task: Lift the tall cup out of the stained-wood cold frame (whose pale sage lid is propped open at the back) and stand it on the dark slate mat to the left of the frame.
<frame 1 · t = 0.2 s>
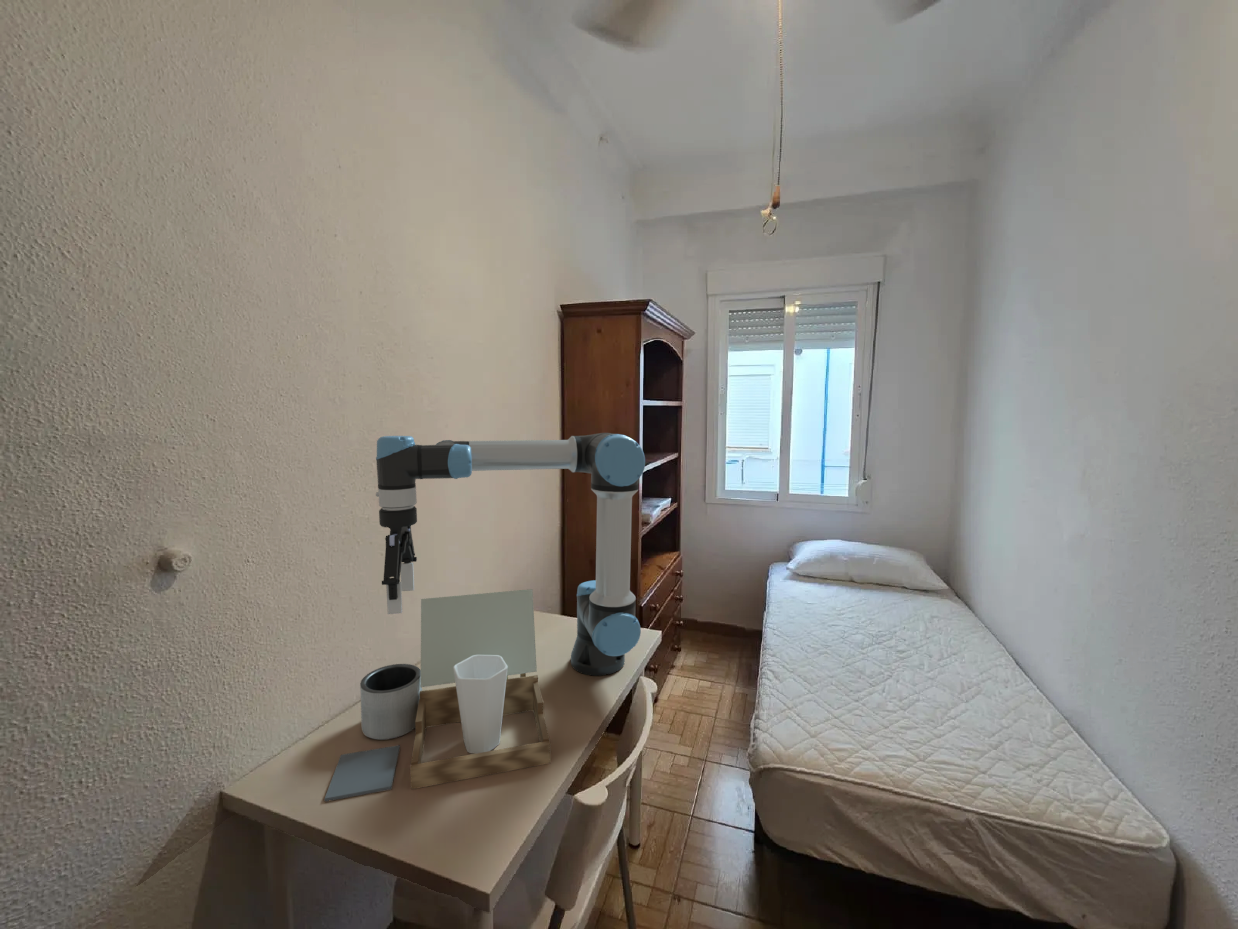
hand: (401, 601, 112), 28 cm above the table, fingers open, 13 cm apart
decorative object: (489, 698, 123), on the table
cold frame: (482, 743, 107), on the table
cup: (482, 744, 107), resting in cold frame
lid: (479, 635, 118), point 18 cm above the table, hinge at 112.5°
planter: (393, 725, 113), on the table
mat: (365, 772, 97), on the table
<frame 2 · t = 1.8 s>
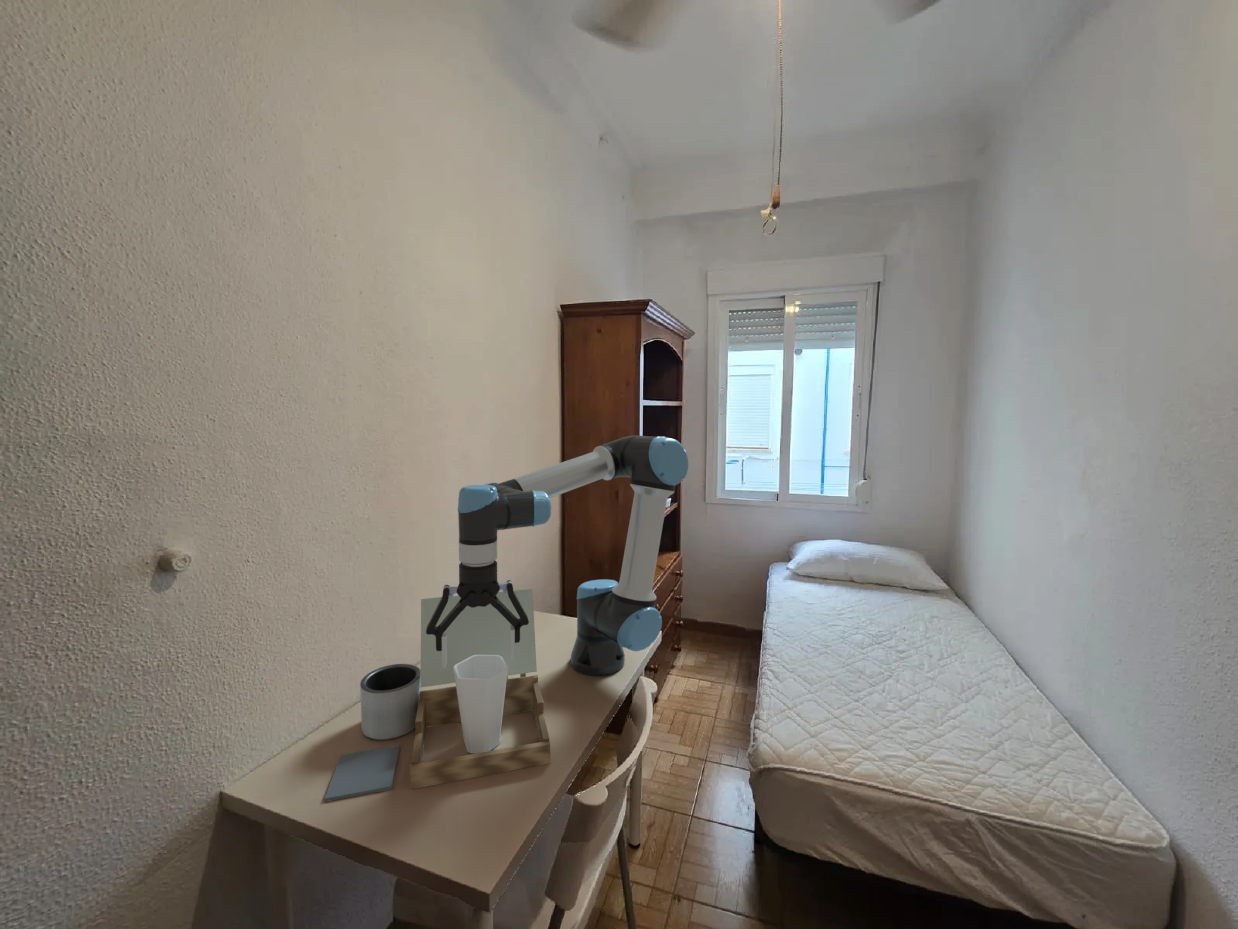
hand: (479, 661, 104), 18 cm above the table, fingers open, 13 cm apart
nothing on the table moved.
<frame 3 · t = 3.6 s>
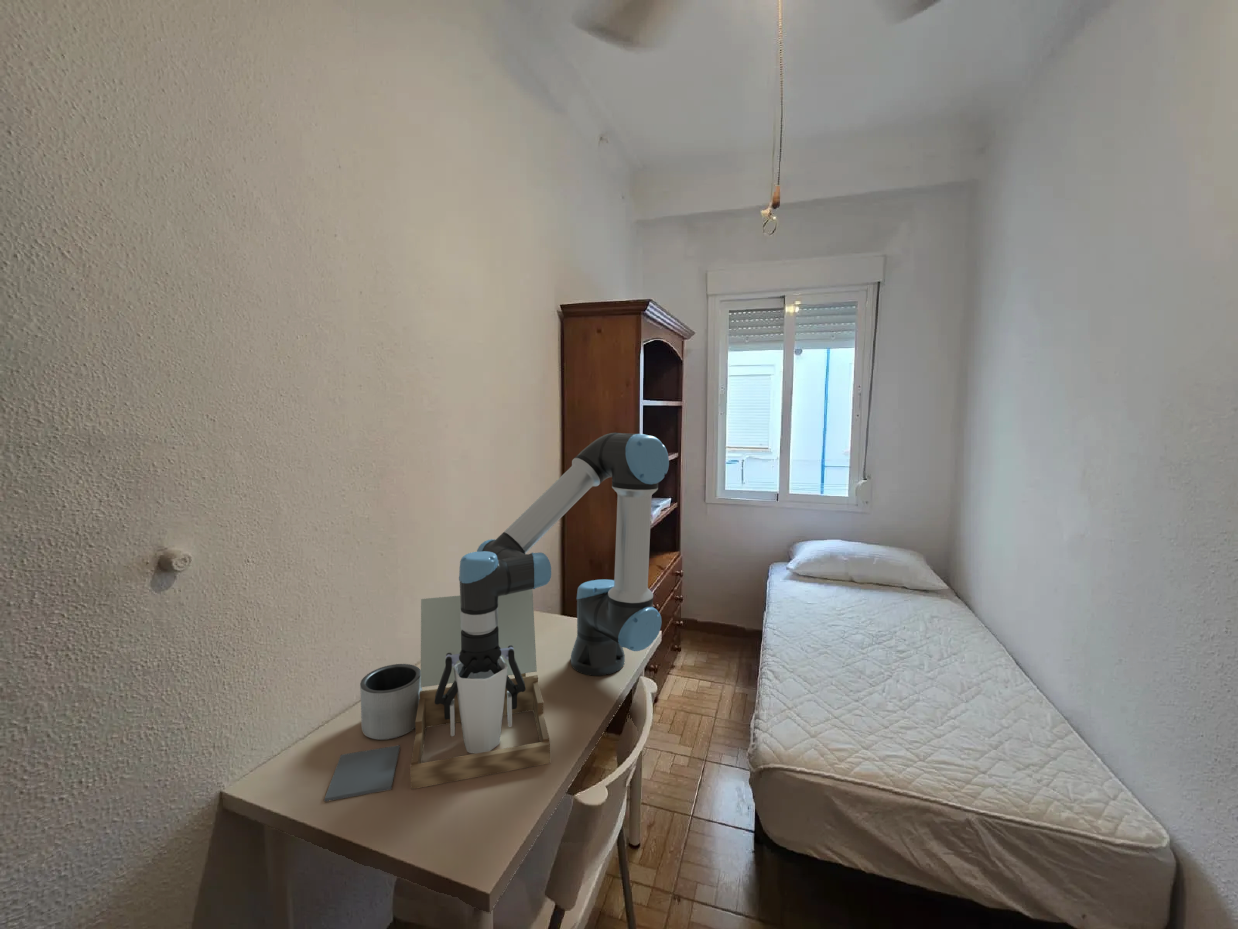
hand: (481, 727, 106), 4 cm above the table, fingers closed on cup, 11 cm apart
cup: (482, 744, 107), resting in cold frame, touching gripper
everything else where it was.
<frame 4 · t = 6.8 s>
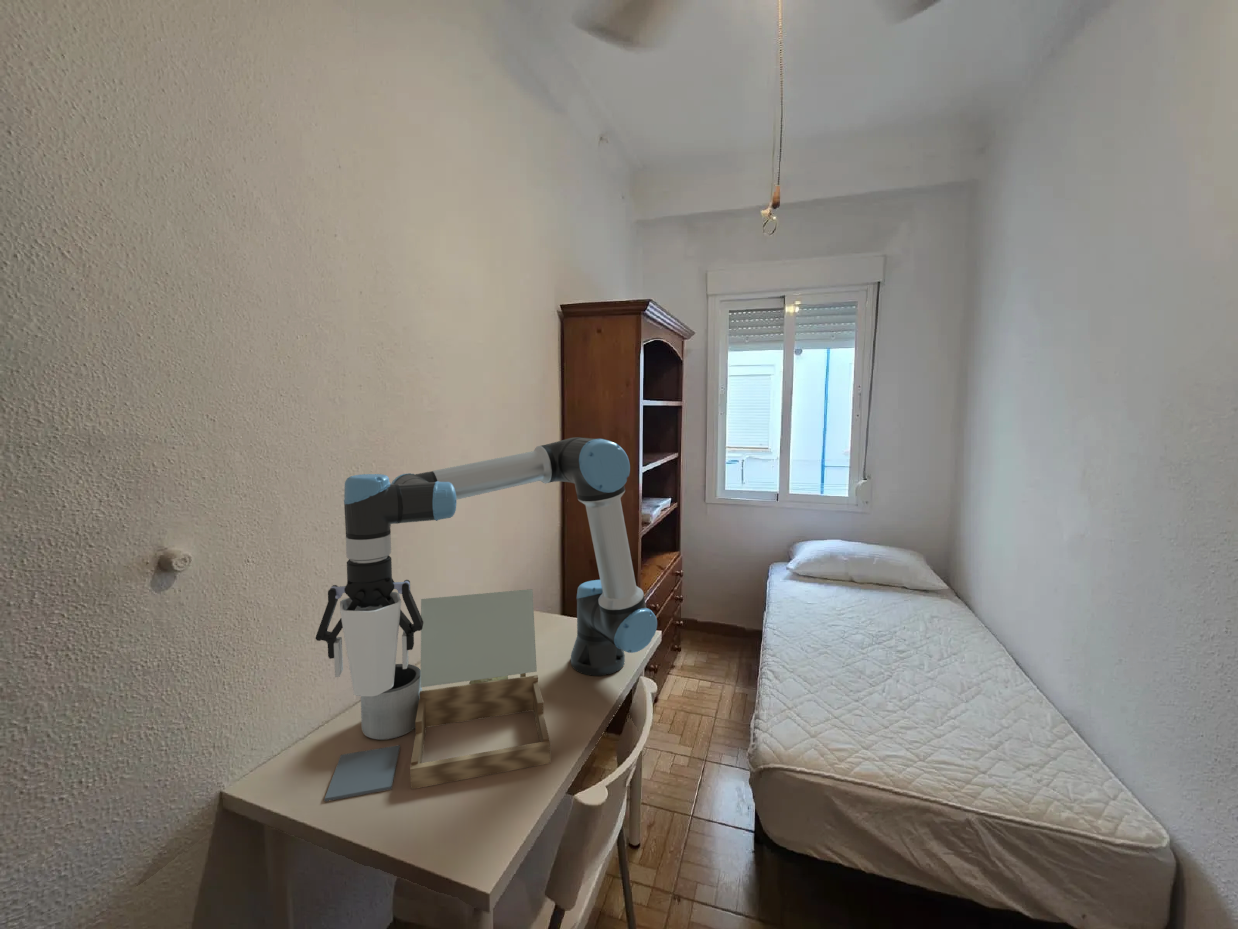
hand: (372, 669, 96), 21 cm above the table, fingers closed on cup, 11 cm apart
cup: (373, 687, 96), point 17 cm above the table, touching gripper
everything else where it was.
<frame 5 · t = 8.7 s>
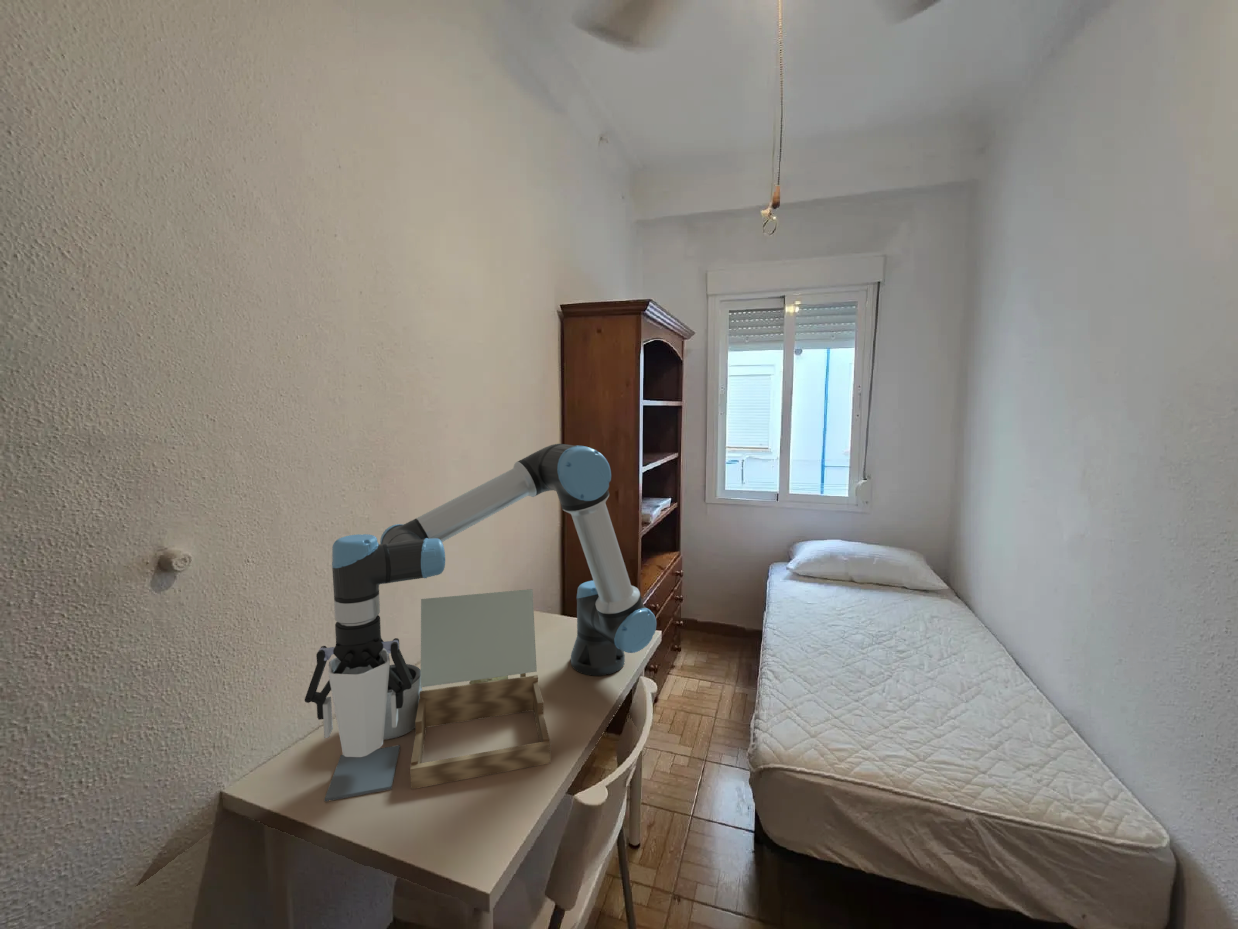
hand: (362, 728, 96), 9 cm above the table, fingers closed on cup, 11 cm apart
cup: (363, 746, 97), point 6 cm above the table, touching gripper
everything else where it was.
when the fingers open (5 cm above the table, at t = 10.0 s): cup drops 1 cm, resting on mat.
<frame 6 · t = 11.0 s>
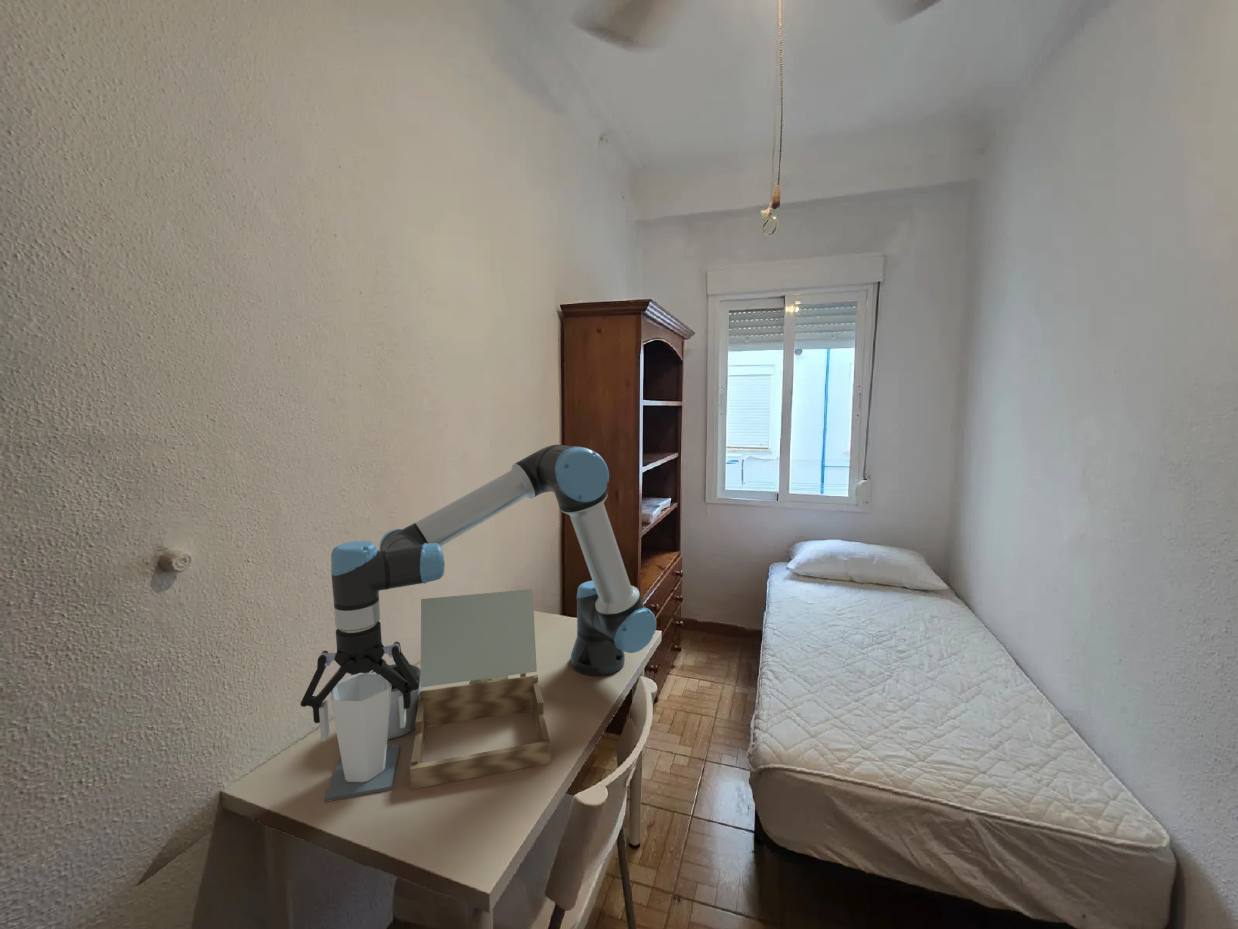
hand: (365, 730, 97), 9 cm above the table, fingers open, 13 cm apart
cup: (365, 770, 97), resting on mat
everything else where it was.
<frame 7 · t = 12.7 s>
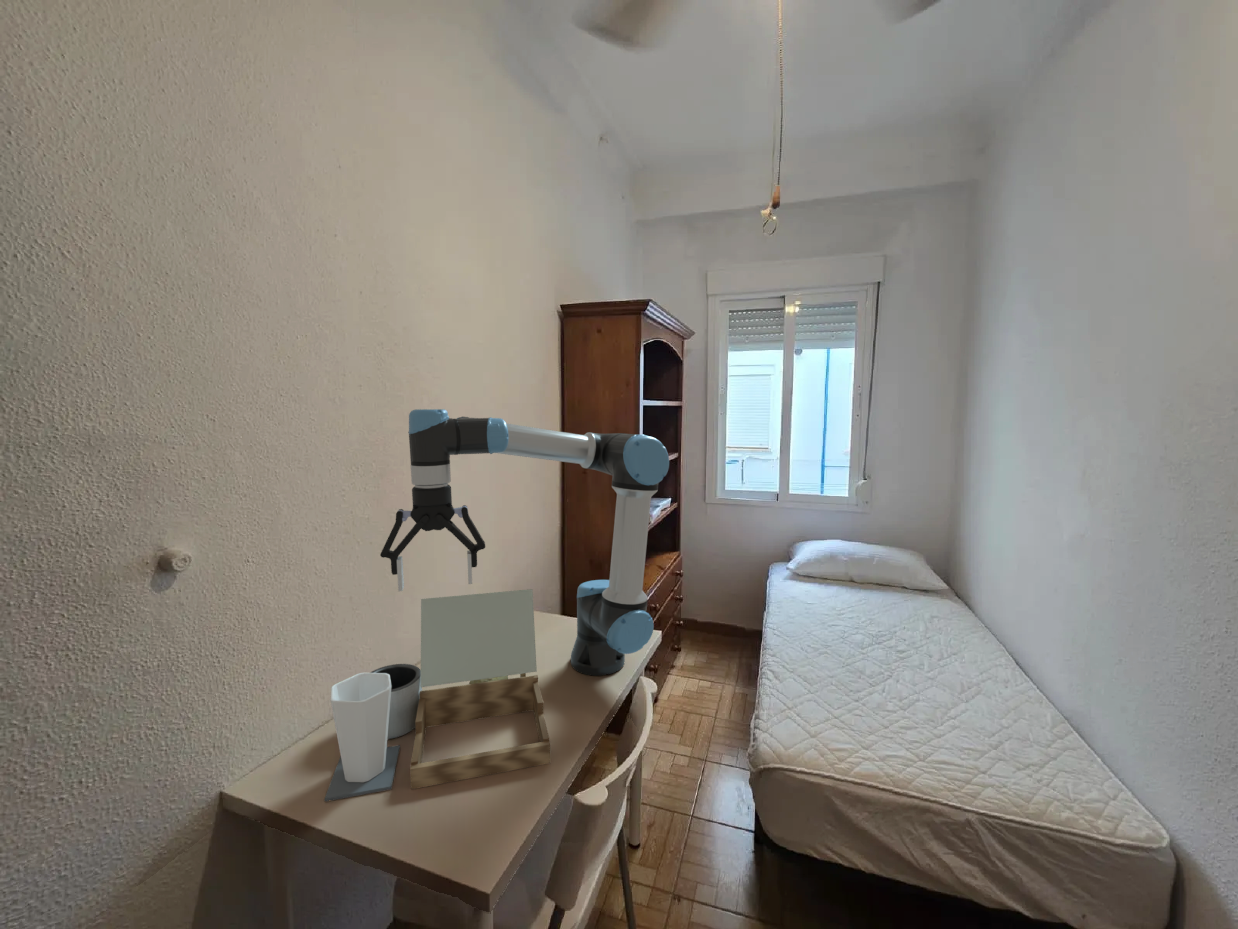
hand: (436, 585, 105), 34 cm above the table, fingers open, 13 cm apart
nothing on the table moved.
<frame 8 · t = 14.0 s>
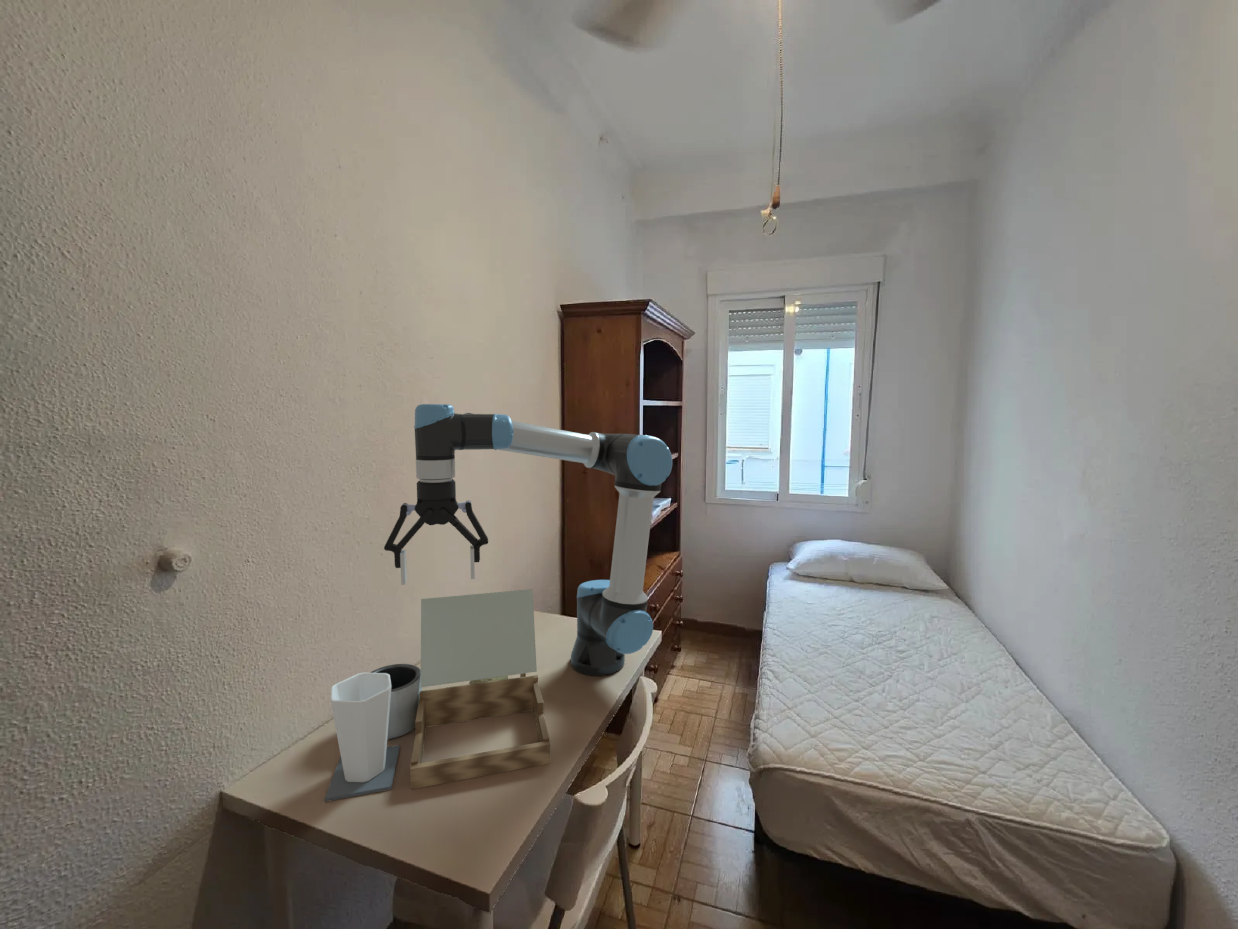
hand: (439, 580, 105), 35 cm above the table, fingers open, 13 cm apart
nothing on the table moved.
at the end: cup inside the target area on the mat (0.1 cm from its centre), point 0.4 cm above the mat's base; cup tilted 0°; the gripper is holding nothing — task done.
